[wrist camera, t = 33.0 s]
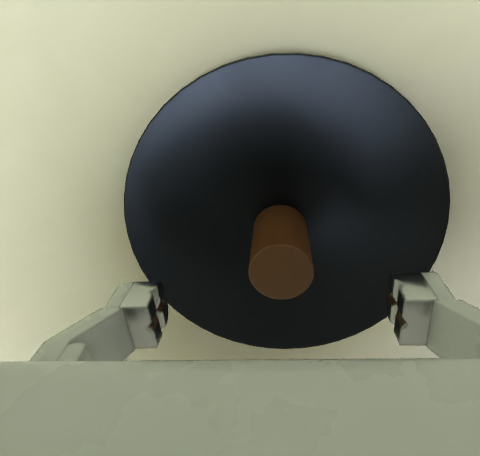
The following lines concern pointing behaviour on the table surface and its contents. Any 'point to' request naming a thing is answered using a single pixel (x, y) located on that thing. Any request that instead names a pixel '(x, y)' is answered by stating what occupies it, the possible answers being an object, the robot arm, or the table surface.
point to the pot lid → (285, 199)
